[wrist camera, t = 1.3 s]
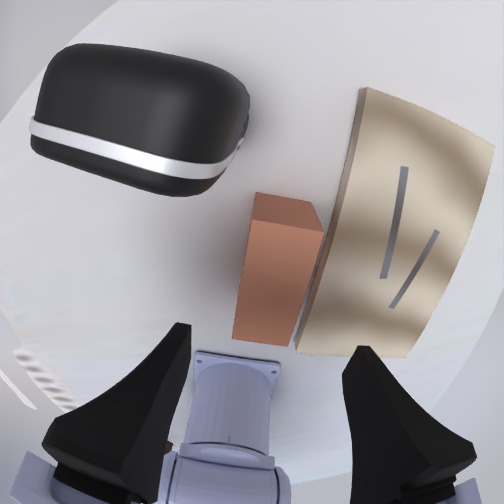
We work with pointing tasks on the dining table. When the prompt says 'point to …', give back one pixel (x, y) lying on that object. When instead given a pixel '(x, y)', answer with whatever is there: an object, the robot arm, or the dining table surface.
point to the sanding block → (276, 268)
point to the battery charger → (140, 117)
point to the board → (393, 228)
